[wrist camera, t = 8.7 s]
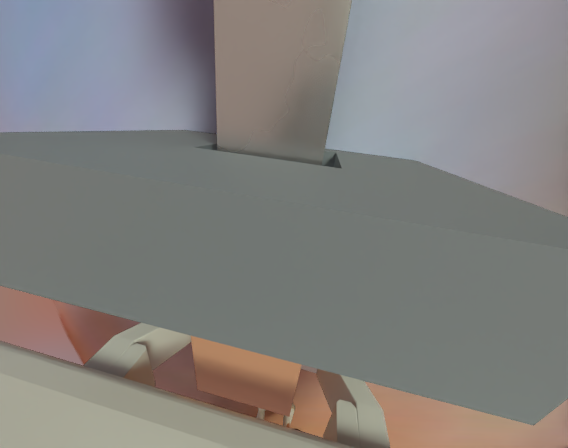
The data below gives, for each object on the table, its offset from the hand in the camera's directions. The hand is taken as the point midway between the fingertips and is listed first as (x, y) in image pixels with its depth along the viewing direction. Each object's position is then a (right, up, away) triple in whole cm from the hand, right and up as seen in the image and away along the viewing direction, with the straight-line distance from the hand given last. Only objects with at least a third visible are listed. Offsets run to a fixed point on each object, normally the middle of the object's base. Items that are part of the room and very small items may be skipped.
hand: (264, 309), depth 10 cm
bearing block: (+1, +7, 0) cm, 7 cm away
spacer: (0, +1, +1) cm, 2 cm away
